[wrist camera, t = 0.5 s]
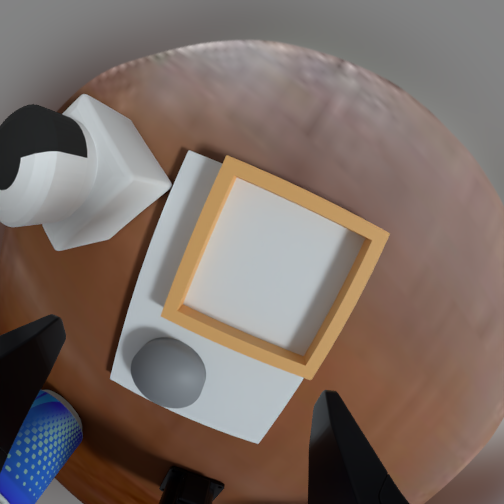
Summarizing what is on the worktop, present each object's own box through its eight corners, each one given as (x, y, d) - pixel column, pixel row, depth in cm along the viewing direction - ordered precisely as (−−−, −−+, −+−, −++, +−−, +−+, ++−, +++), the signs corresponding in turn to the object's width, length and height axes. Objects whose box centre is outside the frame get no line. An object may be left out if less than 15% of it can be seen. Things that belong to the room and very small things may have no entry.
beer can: (25, 382, 25) (-52, 446, 10) (66, 384, 25) (-21, 469, 9) (55, 434, 26) (-5, 504, 11) (99, 441, 26) (38, 530, 10)
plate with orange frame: (258, 438, 24) (257, 455, 22) (113, 374, 24) (102, 387, 21) (378, 230, 21) (390, 233, 18) (194, 146, 20) (185, 138, 18)
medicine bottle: (71, 173, 21) (-37, 162, 9) (130, 118, 20) (33, 63, 8) (109, 240, 22) (-2, 269, 10) (175, 186, 21) (80, 167, 9)
